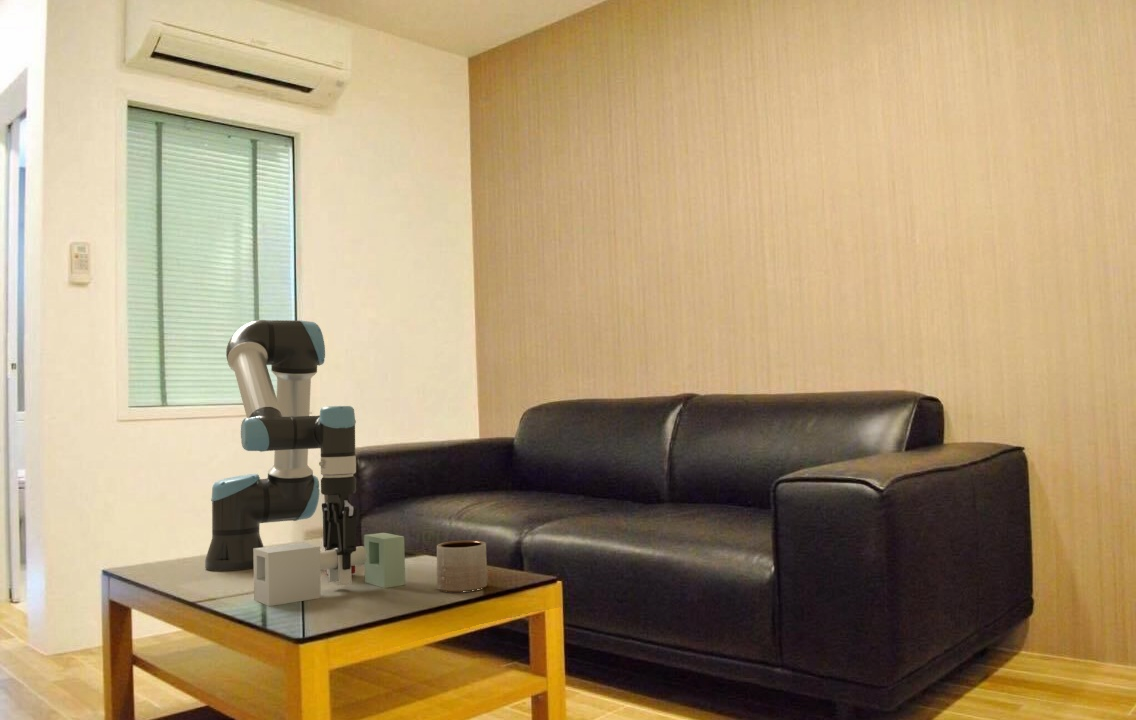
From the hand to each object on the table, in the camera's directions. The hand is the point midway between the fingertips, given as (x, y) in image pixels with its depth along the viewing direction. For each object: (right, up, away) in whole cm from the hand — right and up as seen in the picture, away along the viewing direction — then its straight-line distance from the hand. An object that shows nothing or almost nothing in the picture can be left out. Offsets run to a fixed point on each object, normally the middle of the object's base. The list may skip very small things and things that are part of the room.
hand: (339, 582), depth 194 cm
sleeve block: (-9, -2, -7) cm, 12 cm away
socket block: (+8, -2, +7) cm, 11 cm away
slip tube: (-3, +3, -2) cm, 5 cm away
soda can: (-4, -3, +17) cm, 18 cm away
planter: (+27, -1, -2) cm, 27 cm away
